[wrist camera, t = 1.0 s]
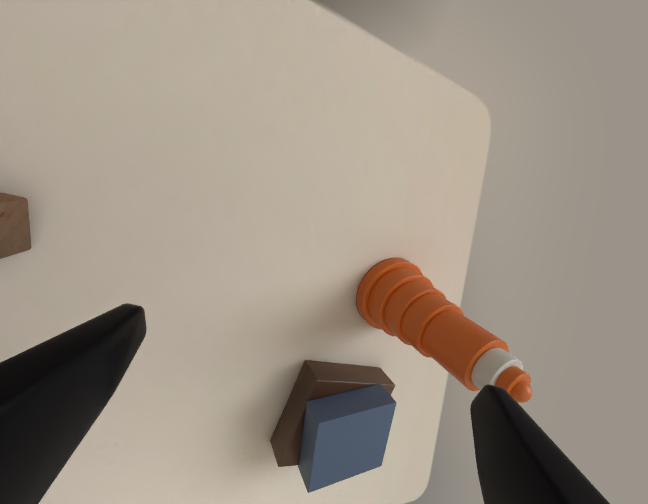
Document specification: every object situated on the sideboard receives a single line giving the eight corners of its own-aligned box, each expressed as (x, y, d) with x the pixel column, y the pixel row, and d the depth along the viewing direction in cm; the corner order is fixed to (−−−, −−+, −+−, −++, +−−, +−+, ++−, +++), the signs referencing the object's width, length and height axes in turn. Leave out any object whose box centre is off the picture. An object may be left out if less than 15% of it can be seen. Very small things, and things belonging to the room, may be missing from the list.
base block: (346, 438, 31) (358, 460, 29) (269, 441, 27) (277, 467, 25) (380, 367, 29) (395, 385, 27) (305, 359, 25) (316, 380, 23)
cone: (388, 333, 28) (516, 454, 18) (342, 306, 25) (465, 434, 15) (428, 278, 28) (582, 367, 18) (387, 244, 25) (545, 328, 14)
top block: (367, 443, 28) (381, 466, 26) (297, 466, 26) (307, 493, 24) (380, 382, 26) (396, 402, 24) (306, 400, 23) (318, 424, 22)
